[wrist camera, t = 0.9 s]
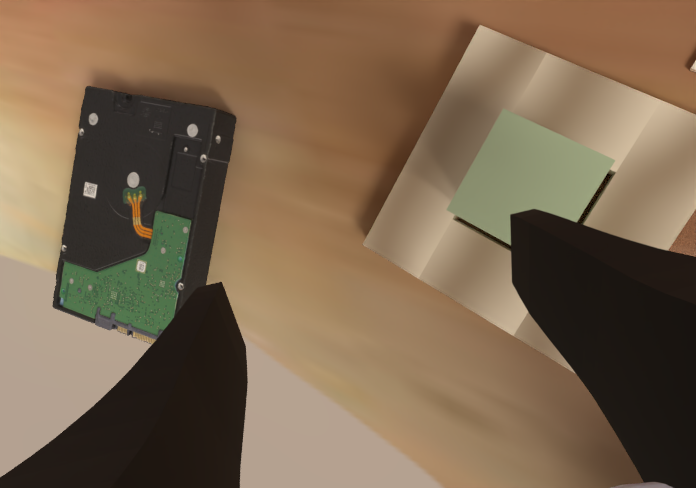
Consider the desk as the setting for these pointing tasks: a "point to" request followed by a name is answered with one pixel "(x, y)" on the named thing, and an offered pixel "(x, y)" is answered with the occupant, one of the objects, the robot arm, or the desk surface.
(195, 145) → the disk drive
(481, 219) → the sage block
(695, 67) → the mat
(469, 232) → the pocket board
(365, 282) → the desk surface
